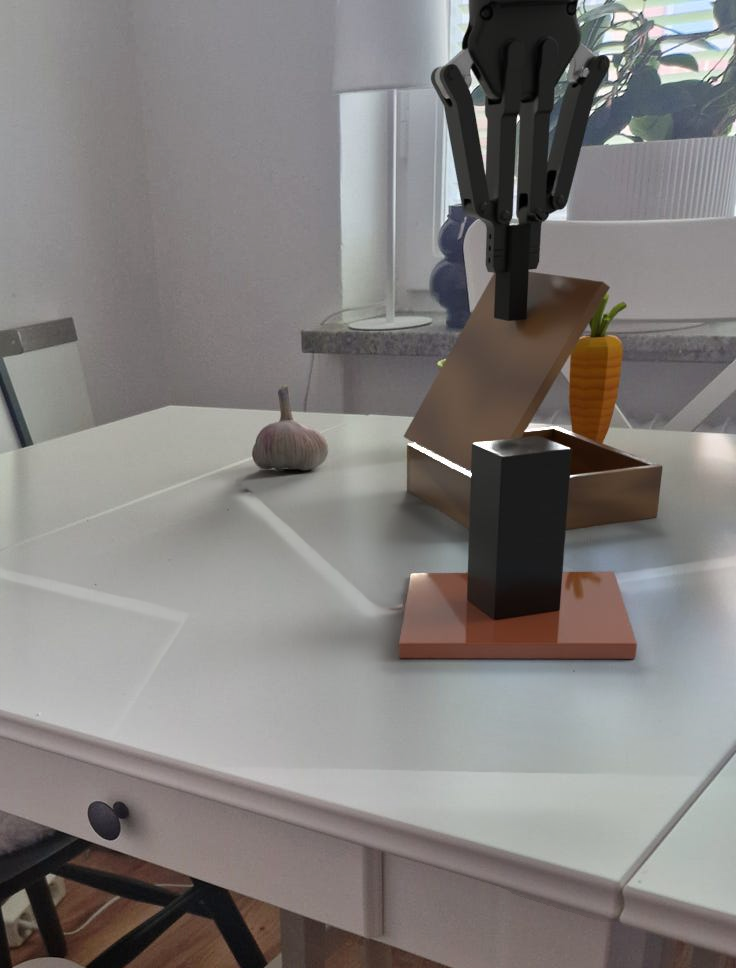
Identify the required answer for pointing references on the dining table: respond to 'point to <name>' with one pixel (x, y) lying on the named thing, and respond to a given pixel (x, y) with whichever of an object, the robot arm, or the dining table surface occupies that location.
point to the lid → (503, 367)
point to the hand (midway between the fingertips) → (510, 318)
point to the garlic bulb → (289, 442)
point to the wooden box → (592, 485)
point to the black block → (517, 525)
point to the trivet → (516, 622)
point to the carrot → (595, 376)
